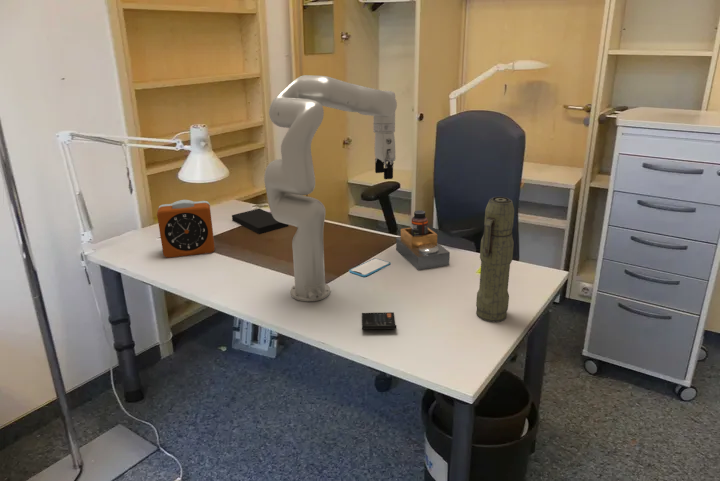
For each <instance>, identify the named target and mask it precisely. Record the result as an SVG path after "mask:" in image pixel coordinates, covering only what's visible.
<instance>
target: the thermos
mask: <svg viewBox="0 0 720 481" xmlns="http://www.w3.org/2000/svg"><path fill="white" fill-rule="evenodd" d="M513 203H514V202H513V200H512V199H510V198H508V197H505V196H493V197H491V198H489V200H488V202H487V204H486V207H485V210H484V212H485V213H484V222H483V223H484V226H483V227H484V228H483V235H482V237H481V240H480V249H479V250H480V251H479V258H480V259H479V260H480V271H479V272H480V275H479V289H478V290H477V292H476V301H475V302H476V303H475V306H476V312H475V314H476V317H477V318H478V319H480V320H481V321H485V322H489V323H499V322H504V321H505V320H506V319H507V316H508V310H509V301H510V294H509V291H508V289H509V282H510V281H509V280H510V269H511V263H512V262H513V256H514V247H515V246H514V245H515V244H514V239H513V228H514V219H515V207H514V204H513Z"/></svg>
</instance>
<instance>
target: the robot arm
mask: <svg viewBox="0 0 720 481" xmlns="http://www.w3.org/2000/svg"><path fill="white" fill-rule="evenodd" d="M397 106H398V102H397V99H396V93H395V92H394V91H392V90H381V89H377V88H372V87H368V86H367V87H366V86H362V85H360V84H354V83H352V82H351V83H350V82H348V81H345V80H340V79H338V78H333V77H330V76H326V75H315V74H314V75H309V74H304V75H301V76H298V77H297V78H295V79H294V80H293V81H291V82H290V83H289V84H288V85H287V86H286V87H285V88H284V89H283V90H282V91H281V92H280V93H278V95H277V96H275V98H274V99H273V100H272V101H271V103H270V106H269V110H268V115H269V116H268V117H269V119H270V121H271V122H272V123H273V124H274V125H275V126H277V127H279V128H287V129H288V130H287V132H285V135H284V137H283V138H282V141H281V144H280V153H281V154H280V155H281V159H280V158H279V159H277V158H276V159H274V160H272V161H270V162H269V163H268V164H267V166H266V168H265V171H264V176H263V179H264V180H263V181H264V188H265V191H266V197H267V201H268V205H269V210H270V213H271V214H272V216H273V218H274V219H275V220H276V221H278V222H281V223H284V224H288V226H292V227H295V228H296V232H295V233H294V235H293V238H292V241H291V243H292V244H291V245H292V246H291V247H292V248H291V249H292V261H293V275H294V276H293V277H294V278H293V279H294V285H293V286H292V287H291V288H290V290H289V291H290V296H291V297H292V298H293V299H294V300H297V301H301V302H317V301H320V300H323V299H325V298H327V297H328V296H329V295H331V294H330V293H331V286H329V285H328V284H327V283H326V276H325V275H326V273H325V270H326V269H325V251H324V250H325V249H324V226H325V220H326V219H325V218H326V207H325V205H324V203H322V202H321V201H320V200H319V199H317V198H315V197H311V196H308V195H310V194H312V193H313V192H314V190H315V187H316V175H315V168H314V163H313V156H312V142H313V139H314V137H315V134H316V133H317V131H318V129H319V127H320V126H321V124H322V123H323V120H324V116H325V112H324V111H325V110H324V107H326V108H331V109H335V110H339V111H343V112H349V113H350V112H351V113H359V114H360V115H362V116H371V117H373V123H372V124H373V127H372V128H373V133H374V134H375V135H374V157H375V159H374V161H375V162H374V164H375V167H374V169H375V170H374V172H375V173H376V174H382V173H383V180H393V179H394V164H395V162H394V161H396V138H395V132H396V110H397Z"/></svg>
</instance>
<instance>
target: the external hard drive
mask: <svg viewBox="0 0 720 481" xmlns="http://www.w3.org/2000/svg"><path fill="white" fill-rule="evenodd" d="M231 219H232V222H233V223H236V224H238V225H241V226H242V227H244V228H245V229H246V228H247V230H250V231H251V232H254V233H256V234H258V235H262V234H266V233H270V232H273V231H276V230H280V229H283V228H284V229H285V228H288V227H289V224H284V223H281V222H278V221H276V220H275V219H274V218H273V216H272V214H271V212H268V211H267V210H264V209H262V208H256V209H252V210H247V211H243V212H239V213H235V214H231Z"/></svg>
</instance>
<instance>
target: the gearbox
mask: <svg viewBox="0 0 720 481" xmlns="http://www.w3.org/2000/svg"><path fill="white" fill-rule="evenodd" d="M395 250H396V252H398V253H399V254H400V255H401V256H402V258H404V259H405V260H407V261H408V262H409V263H410V264H411V265H412V267H414V268H415V269H416V270H417V271H422V270H427V269H428V270H429V269H435V268H436V269H437V268H442V267H448V266H450V251H449V250H447V249H446V248H445V247H444V246H442V245H441V244H440V243H438V234H437V233H436V232H435V231H434V230H432V229H431V228H430V227H428V235H421V236H414V237H413V236H412V235H411V227H405V228H400V236H399V237H395Z"/></svg>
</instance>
